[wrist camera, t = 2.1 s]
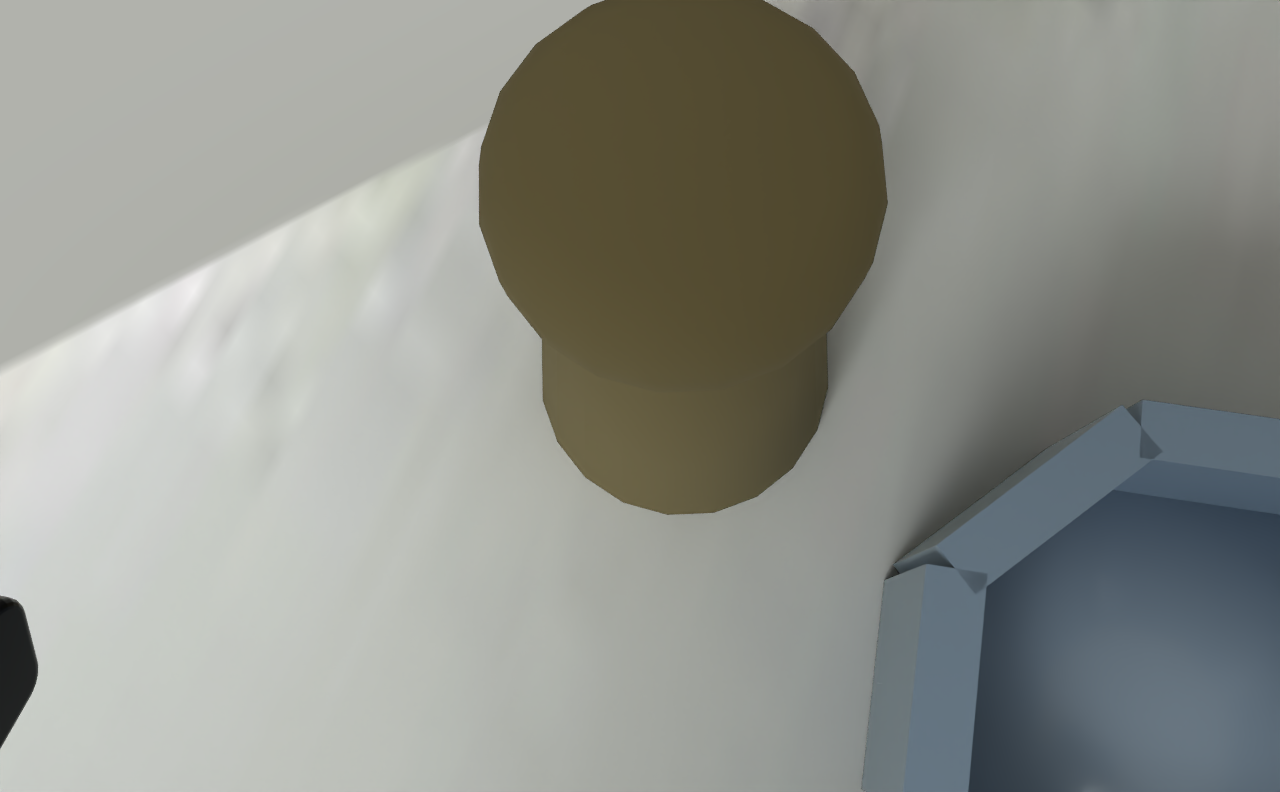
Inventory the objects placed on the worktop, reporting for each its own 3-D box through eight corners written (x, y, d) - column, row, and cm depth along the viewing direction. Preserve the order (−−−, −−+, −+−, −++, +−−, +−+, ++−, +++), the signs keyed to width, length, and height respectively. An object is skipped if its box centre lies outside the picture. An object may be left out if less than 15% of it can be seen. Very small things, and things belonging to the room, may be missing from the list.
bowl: (1559, 794, 21) (1762, 826, 17) (1126, 1162, 20) (1235, 1289, 16) (1170, 354, 23) (1269, 293, 19) (761, 664, 22) (777, 665, 18)
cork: (735, 189, 24) (773, -183, 13) (883, 424, 23) (1056, 219, 12) (491, 321, 24) (329, 45, 13) (627, 569, 22) (572, 489, 12)
